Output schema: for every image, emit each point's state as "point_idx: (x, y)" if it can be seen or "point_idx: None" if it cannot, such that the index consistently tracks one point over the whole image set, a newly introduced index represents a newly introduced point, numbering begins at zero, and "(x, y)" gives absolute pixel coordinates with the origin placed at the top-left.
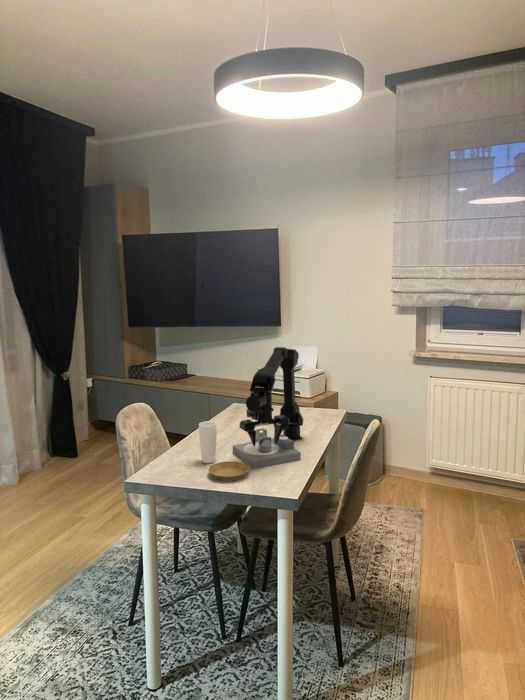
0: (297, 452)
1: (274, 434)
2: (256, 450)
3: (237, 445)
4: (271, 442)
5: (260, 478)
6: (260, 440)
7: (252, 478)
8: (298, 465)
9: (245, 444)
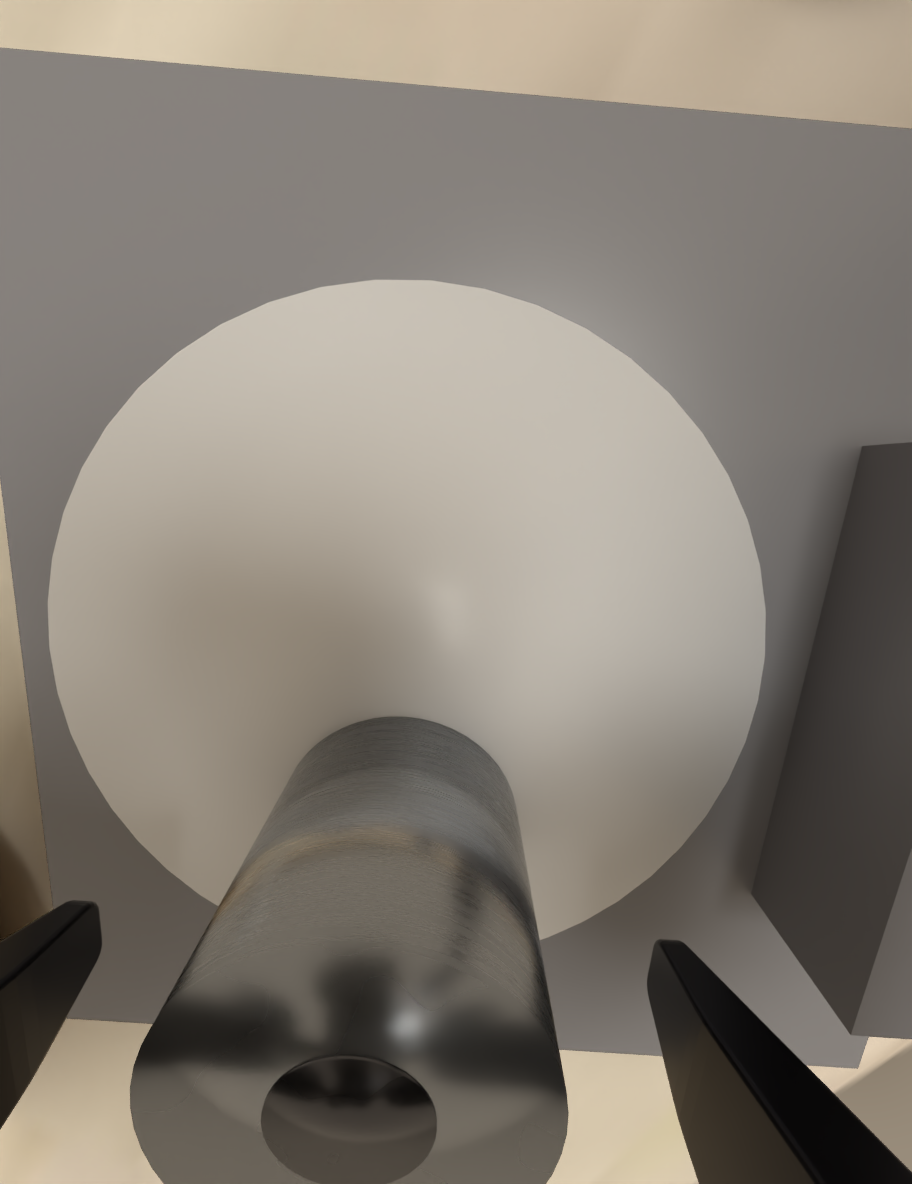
0: (817, 1054)
1: (797, 1169)
2: (271, 730)
3: (57, 136)
4: (829, 397)
5: (115, 1132)
6: (160, 1149)
7: (39, 1100)
8: (645, 1063)
9: (260, 178)
